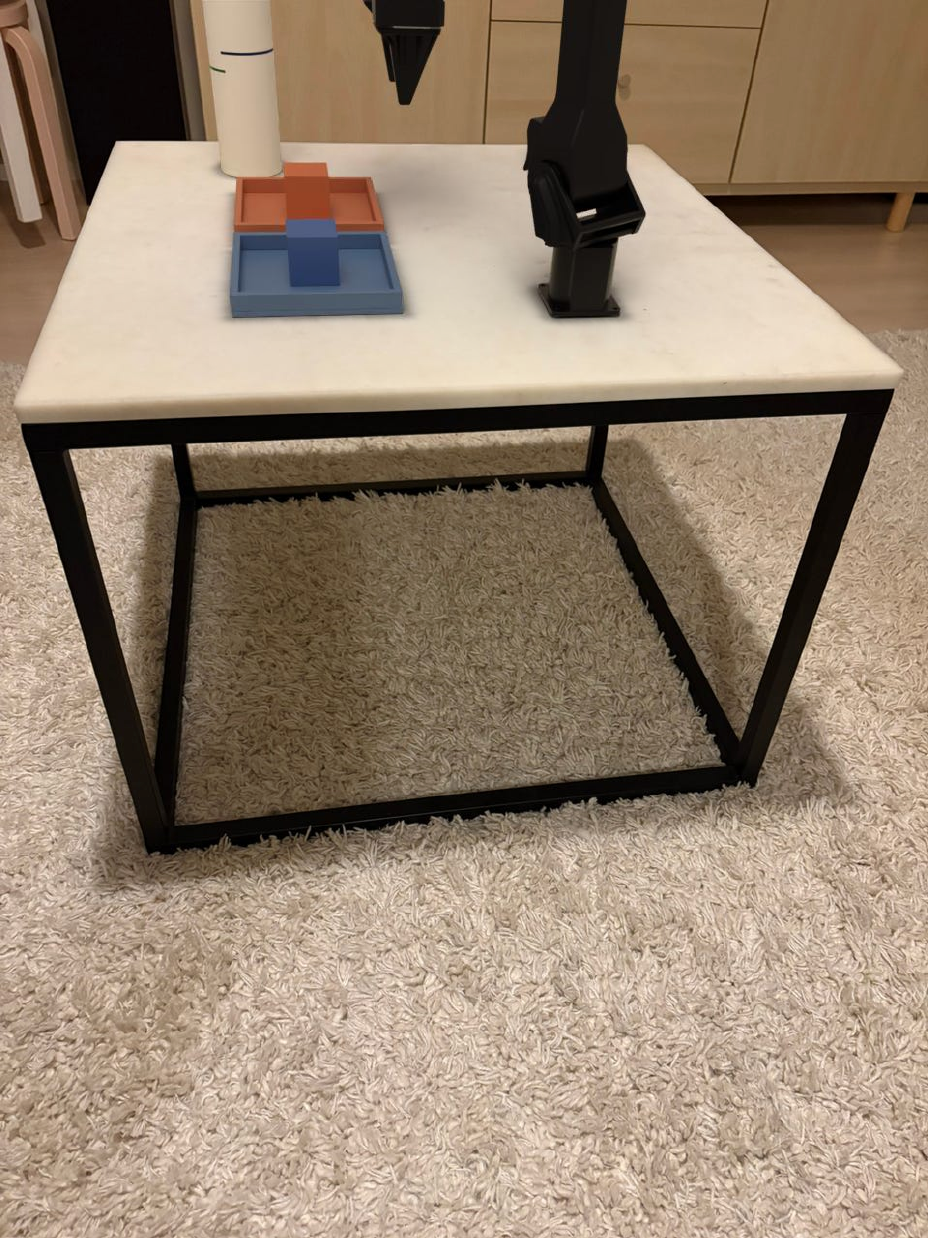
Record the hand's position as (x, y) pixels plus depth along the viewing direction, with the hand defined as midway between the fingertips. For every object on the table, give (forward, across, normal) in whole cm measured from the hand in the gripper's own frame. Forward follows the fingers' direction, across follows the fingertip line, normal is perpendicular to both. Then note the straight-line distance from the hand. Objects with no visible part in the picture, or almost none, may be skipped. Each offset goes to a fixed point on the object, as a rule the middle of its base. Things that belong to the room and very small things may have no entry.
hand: (399, 92), depth 95 cm
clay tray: (+12, +1, -10) cm, 16 cm away
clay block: (+11, +1, -10) cm, 15 cm away
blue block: (+12, +18, -10) cm, 24 cm away
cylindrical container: (+12, -16, -16) cm, 26 cm away
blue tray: (+12, +18, -10) cm, 24 cm away
